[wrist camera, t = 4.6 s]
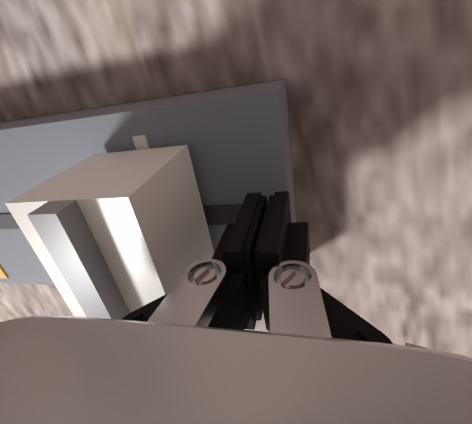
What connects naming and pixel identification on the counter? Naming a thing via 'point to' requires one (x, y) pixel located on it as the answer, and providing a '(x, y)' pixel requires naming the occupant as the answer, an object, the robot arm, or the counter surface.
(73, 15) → the counter surface
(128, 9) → the counter surface
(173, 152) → the fader cap
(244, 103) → the console board
